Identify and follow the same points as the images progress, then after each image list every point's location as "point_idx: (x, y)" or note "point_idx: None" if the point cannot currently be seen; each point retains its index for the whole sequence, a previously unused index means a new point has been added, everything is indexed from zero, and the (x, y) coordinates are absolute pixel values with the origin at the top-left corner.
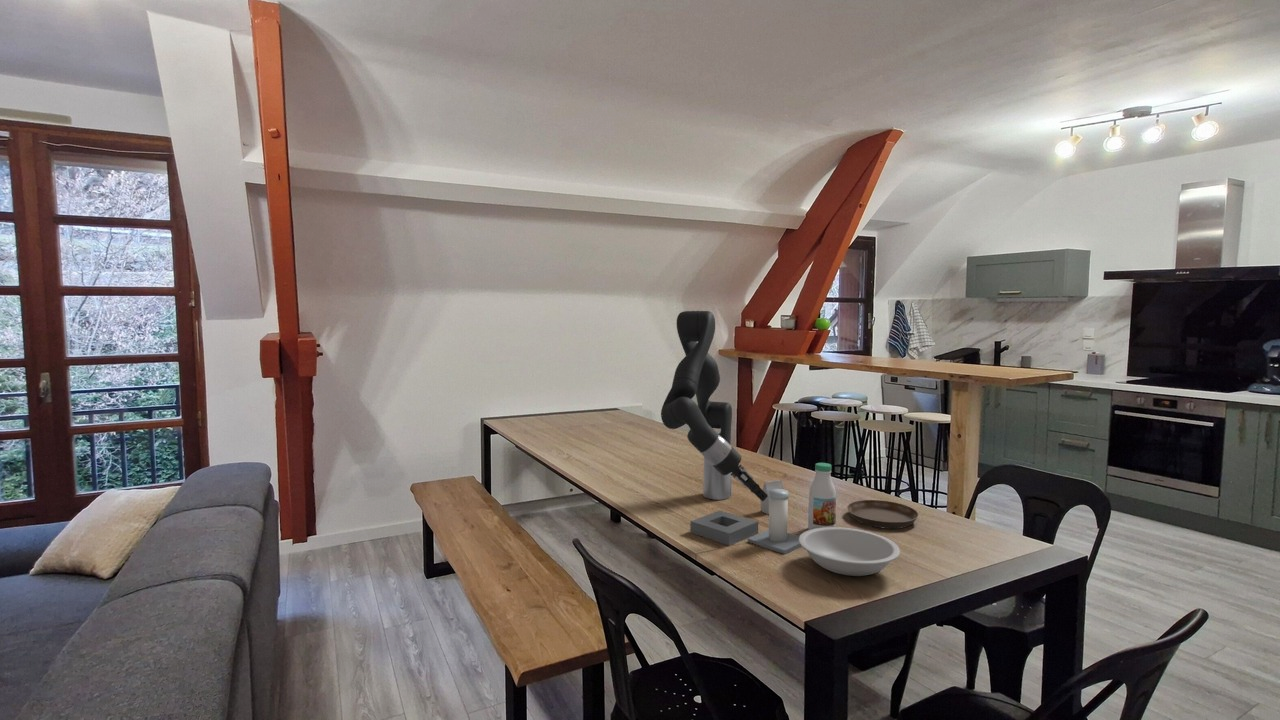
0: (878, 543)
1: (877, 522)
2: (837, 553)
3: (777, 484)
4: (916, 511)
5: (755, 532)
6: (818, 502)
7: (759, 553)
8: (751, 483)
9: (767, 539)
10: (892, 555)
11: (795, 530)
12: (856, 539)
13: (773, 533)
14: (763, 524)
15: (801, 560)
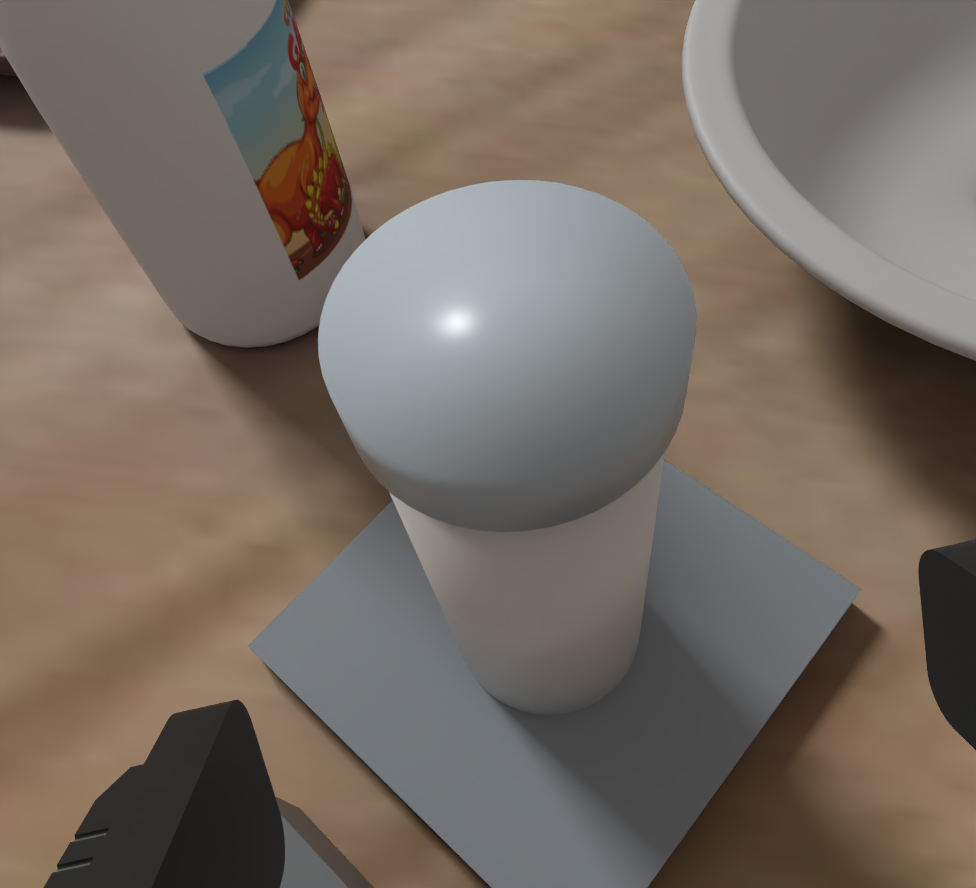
0: None
1: None
2: (852, 214)
3: None
4: None
5: (328, 843)
6: (268, 79)
7: (905, 870)
8: (205, 872)
9: (581, 732)
10: None
11: (244, 446)
12: (769, 39)
13: (628, 651)
14: (51, 716)
15: (960, 484)
